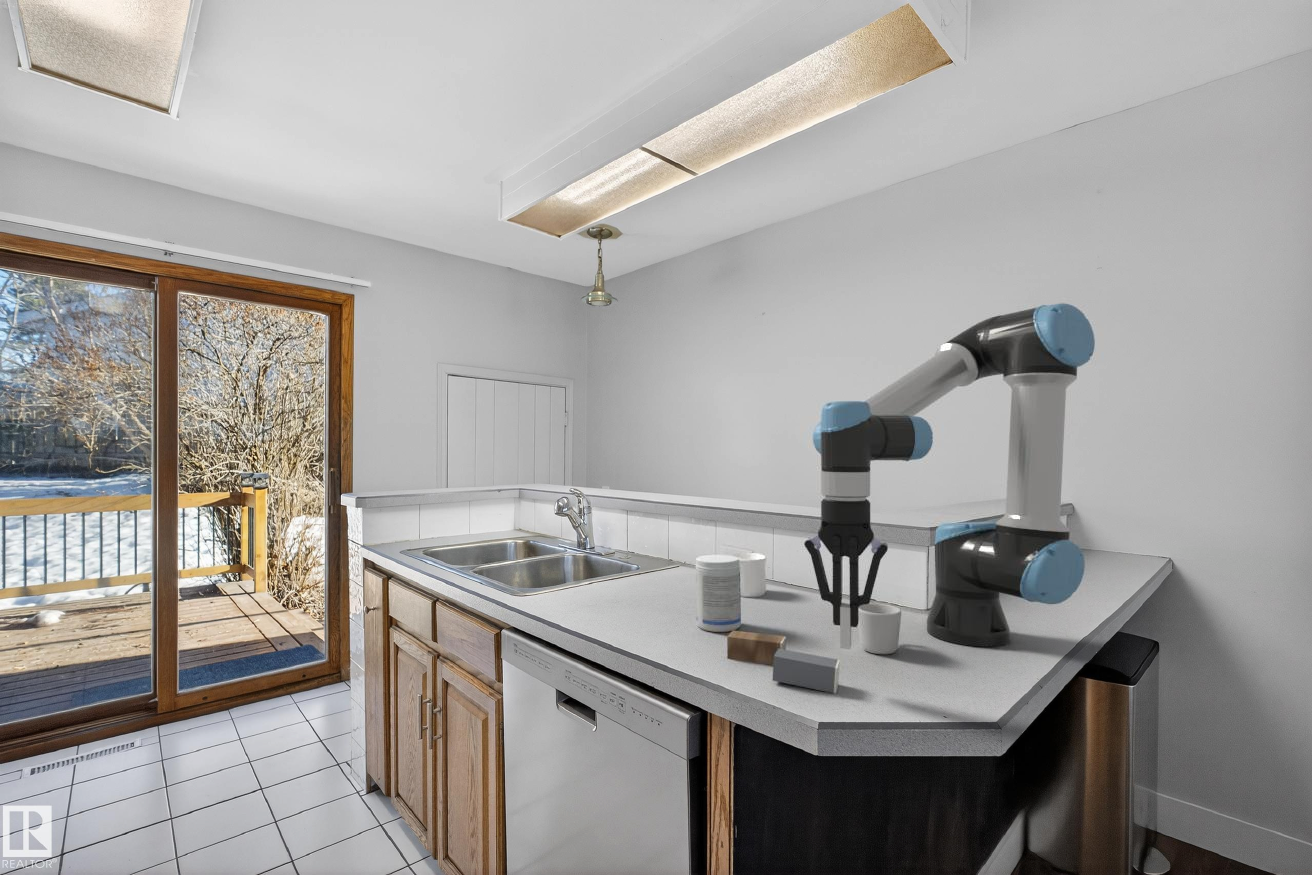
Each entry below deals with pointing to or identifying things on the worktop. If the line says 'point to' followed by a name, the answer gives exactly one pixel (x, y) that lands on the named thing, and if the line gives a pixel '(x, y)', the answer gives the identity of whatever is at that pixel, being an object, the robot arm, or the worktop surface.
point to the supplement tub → (718, 593)
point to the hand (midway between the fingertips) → (845, 645)
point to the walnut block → (754, 646)
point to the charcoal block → (806, 670)
